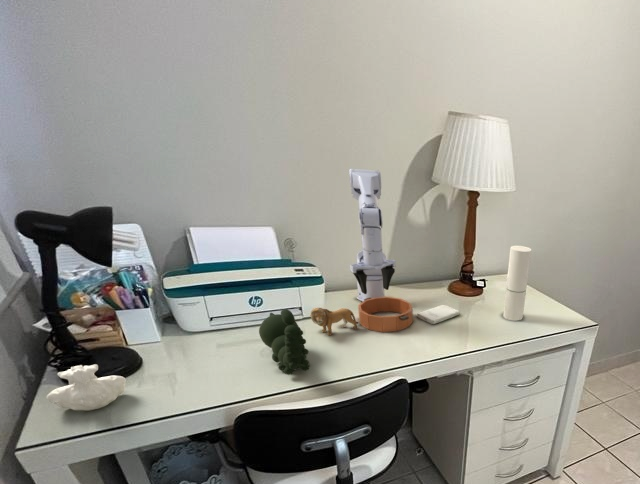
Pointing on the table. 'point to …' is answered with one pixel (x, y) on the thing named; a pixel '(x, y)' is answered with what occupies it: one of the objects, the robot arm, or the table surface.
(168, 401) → the table surface
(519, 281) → the cylindrical container
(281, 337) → the toy figurine
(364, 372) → the table surface
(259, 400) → the table surface
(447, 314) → the hard drive
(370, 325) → the orange round basin
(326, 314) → the lion figurine
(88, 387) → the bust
